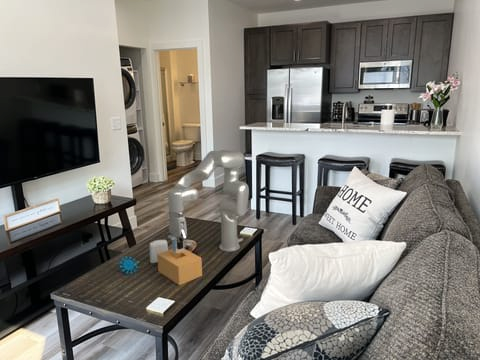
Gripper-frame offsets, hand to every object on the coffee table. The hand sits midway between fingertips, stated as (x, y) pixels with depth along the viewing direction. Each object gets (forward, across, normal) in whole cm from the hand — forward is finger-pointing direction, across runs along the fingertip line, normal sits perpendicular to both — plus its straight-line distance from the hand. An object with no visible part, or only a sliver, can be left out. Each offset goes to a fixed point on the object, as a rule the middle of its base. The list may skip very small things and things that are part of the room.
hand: (178, 247), depth 184 cm
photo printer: (+15, +20, 0) cm, 25 cm away
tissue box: (+15, 0, 0) cm, 15 cm away
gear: (+15, +21, +18) cm, 31 cm away
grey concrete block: (+2, 0, 0) cm, 2 cm away
